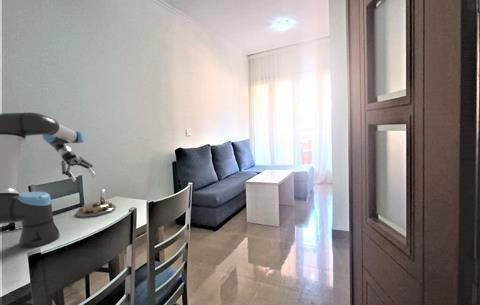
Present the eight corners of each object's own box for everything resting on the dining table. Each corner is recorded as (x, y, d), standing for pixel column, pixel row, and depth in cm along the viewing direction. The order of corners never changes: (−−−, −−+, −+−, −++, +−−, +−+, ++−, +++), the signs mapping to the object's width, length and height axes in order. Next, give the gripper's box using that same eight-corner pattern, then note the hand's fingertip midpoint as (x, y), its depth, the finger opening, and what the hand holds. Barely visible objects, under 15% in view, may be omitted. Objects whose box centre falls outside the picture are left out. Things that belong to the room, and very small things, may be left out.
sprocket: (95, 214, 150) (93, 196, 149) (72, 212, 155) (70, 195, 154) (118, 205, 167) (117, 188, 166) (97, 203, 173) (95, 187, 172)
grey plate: (95, 218, 148) (95, 216, 148) (67, 216, 154) (67, 213, 154) (123, 206, 169) (123, 204, 169) (97, 205, 175) (97, 202, 175)
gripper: (82, 155, 186) (99, 176, 182) (45, 161, 163) (63, 186, 160) (86, 148, 183) (103, 170, 179) (49, 154, 160) (68, 179, 157)
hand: (85, 177), depth 170 cm, fingers open, 13 cm apart
